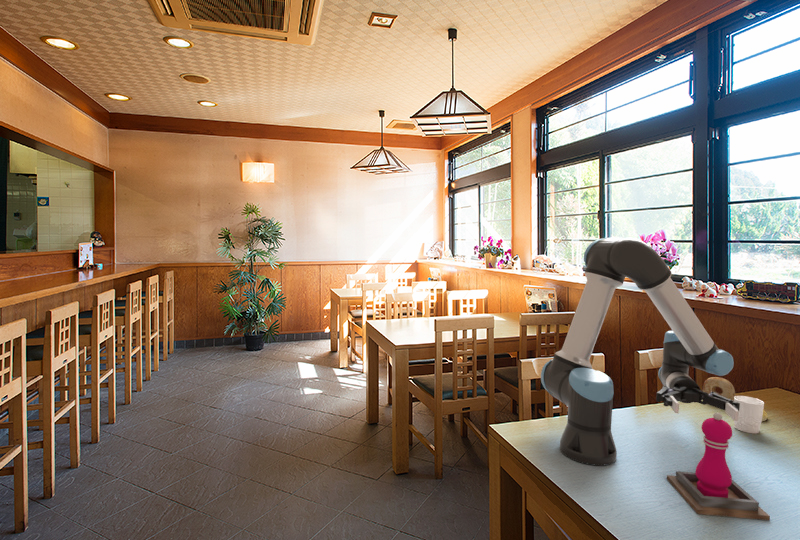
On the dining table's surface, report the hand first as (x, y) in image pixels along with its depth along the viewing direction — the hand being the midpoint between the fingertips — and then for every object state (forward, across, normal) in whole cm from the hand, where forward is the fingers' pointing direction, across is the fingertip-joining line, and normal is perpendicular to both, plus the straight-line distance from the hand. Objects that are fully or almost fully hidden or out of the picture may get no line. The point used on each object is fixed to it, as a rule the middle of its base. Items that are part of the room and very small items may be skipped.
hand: (706, 412), depth 118 cm
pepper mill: (+12, +1, -16) cm, 20 cm away
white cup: (-38, -24, -16) cm, 48 cm away
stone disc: (-62, -23, -16) cm, 69 cm away
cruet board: (+12, +1, -17) cm, 21 cm away
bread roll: (-52, -31, -16) cm, 62 cm away
